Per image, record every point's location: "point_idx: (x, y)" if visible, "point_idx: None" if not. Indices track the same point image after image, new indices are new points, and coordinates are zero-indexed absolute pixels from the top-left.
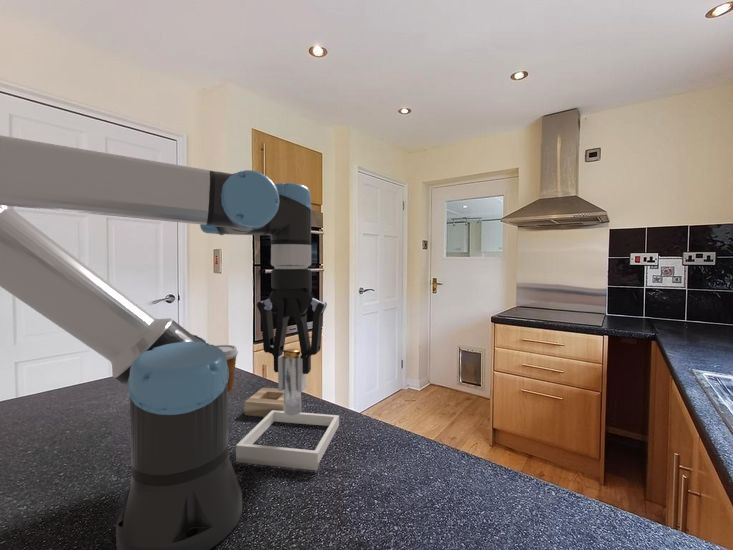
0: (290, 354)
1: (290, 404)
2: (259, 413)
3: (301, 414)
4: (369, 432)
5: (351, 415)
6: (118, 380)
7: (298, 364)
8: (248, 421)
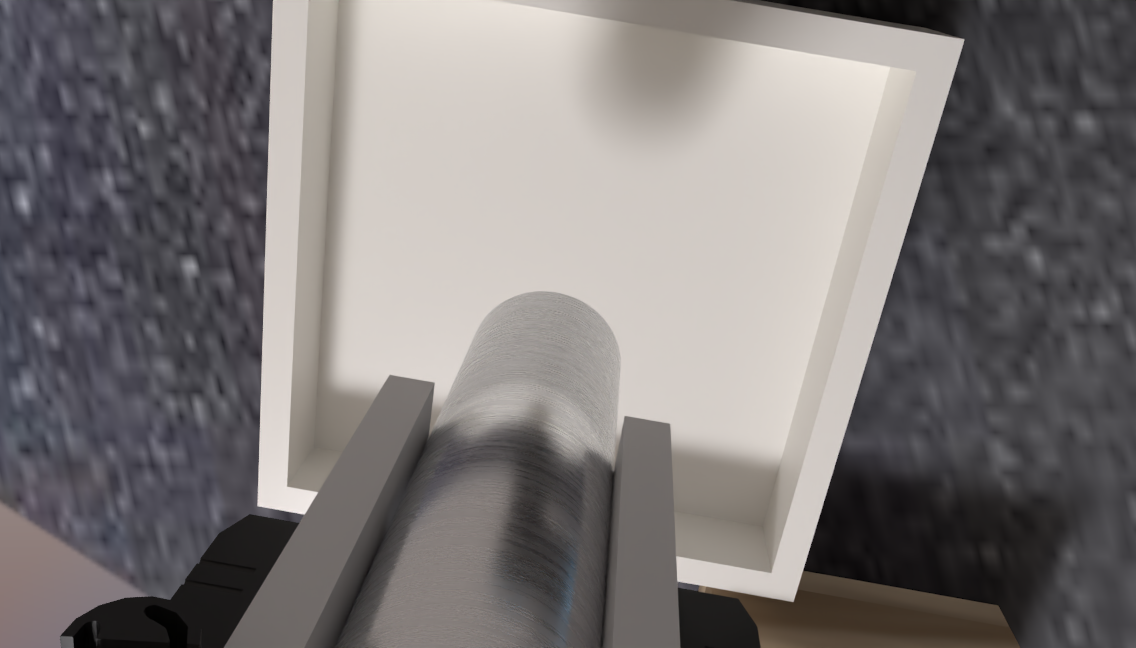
0: None
1: (536, 329)
2: (895, 618)
3: None
4: (89, 411)
5: None
6: None
7: (319, 588)
8: (962, 575)
